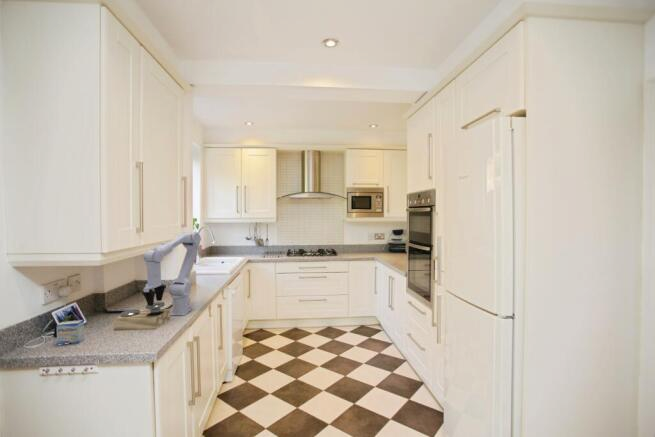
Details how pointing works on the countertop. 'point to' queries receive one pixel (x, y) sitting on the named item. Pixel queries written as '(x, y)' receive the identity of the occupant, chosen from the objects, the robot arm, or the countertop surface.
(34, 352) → the countertop surface
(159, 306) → the peg
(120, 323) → the block
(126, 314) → the peg
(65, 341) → the medicine box
